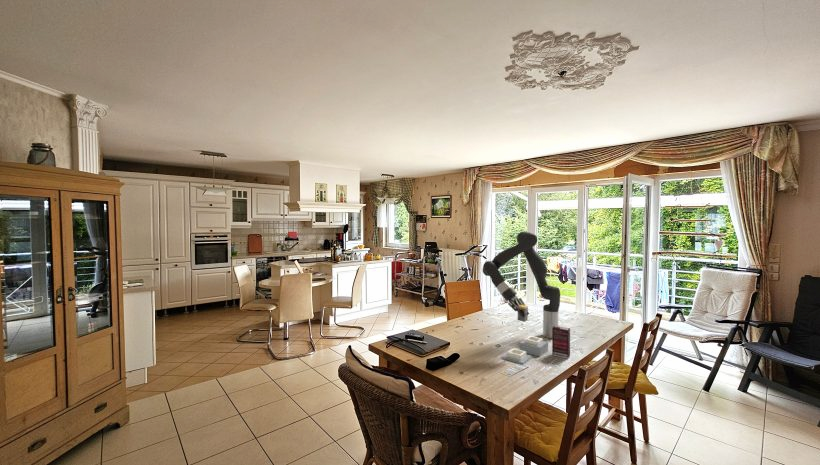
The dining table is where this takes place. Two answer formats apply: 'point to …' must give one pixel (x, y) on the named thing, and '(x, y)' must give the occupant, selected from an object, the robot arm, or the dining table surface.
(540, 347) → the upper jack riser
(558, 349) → the supplement box
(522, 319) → the plug
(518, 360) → the plate
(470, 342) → the dining table surface
